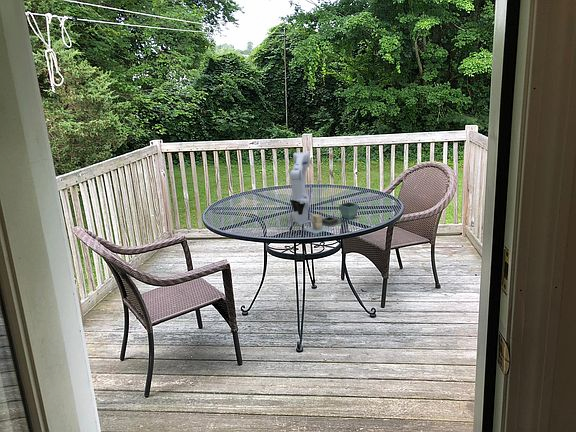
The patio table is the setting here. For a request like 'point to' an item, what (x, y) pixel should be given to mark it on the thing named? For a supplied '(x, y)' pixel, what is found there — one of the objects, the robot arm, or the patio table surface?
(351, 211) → the flower pot
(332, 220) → the socket base
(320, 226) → the peg
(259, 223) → the patio table surface
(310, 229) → the board
